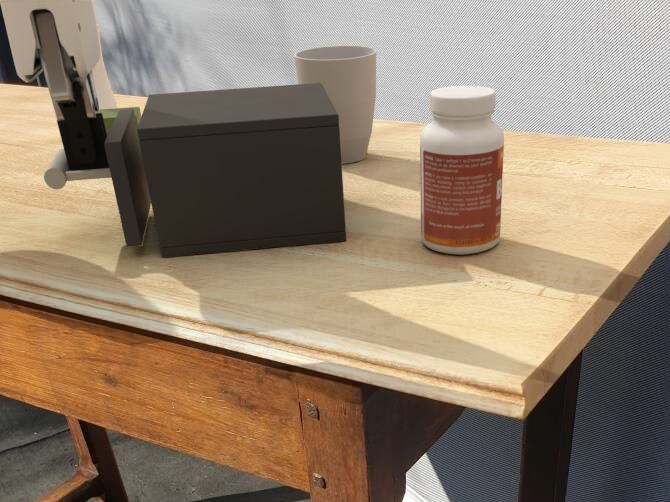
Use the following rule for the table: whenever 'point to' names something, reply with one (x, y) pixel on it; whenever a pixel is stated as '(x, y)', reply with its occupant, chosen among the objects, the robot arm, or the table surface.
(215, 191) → the dark grey box
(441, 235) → the pill bottle
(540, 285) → the table surface
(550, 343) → the table surface
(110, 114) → the block
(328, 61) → the cup
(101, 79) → the water bottle
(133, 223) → the grey drawer with handle
